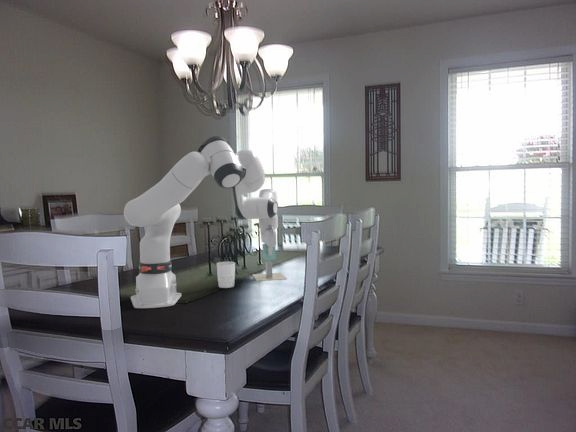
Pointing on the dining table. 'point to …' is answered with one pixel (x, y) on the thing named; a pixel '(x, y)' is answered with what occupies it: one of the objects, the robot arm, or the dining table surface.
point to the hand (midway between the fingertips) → (268, 254)
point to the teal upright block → (265, 253)
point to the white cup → (226, 274)
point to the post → (269, 274)
